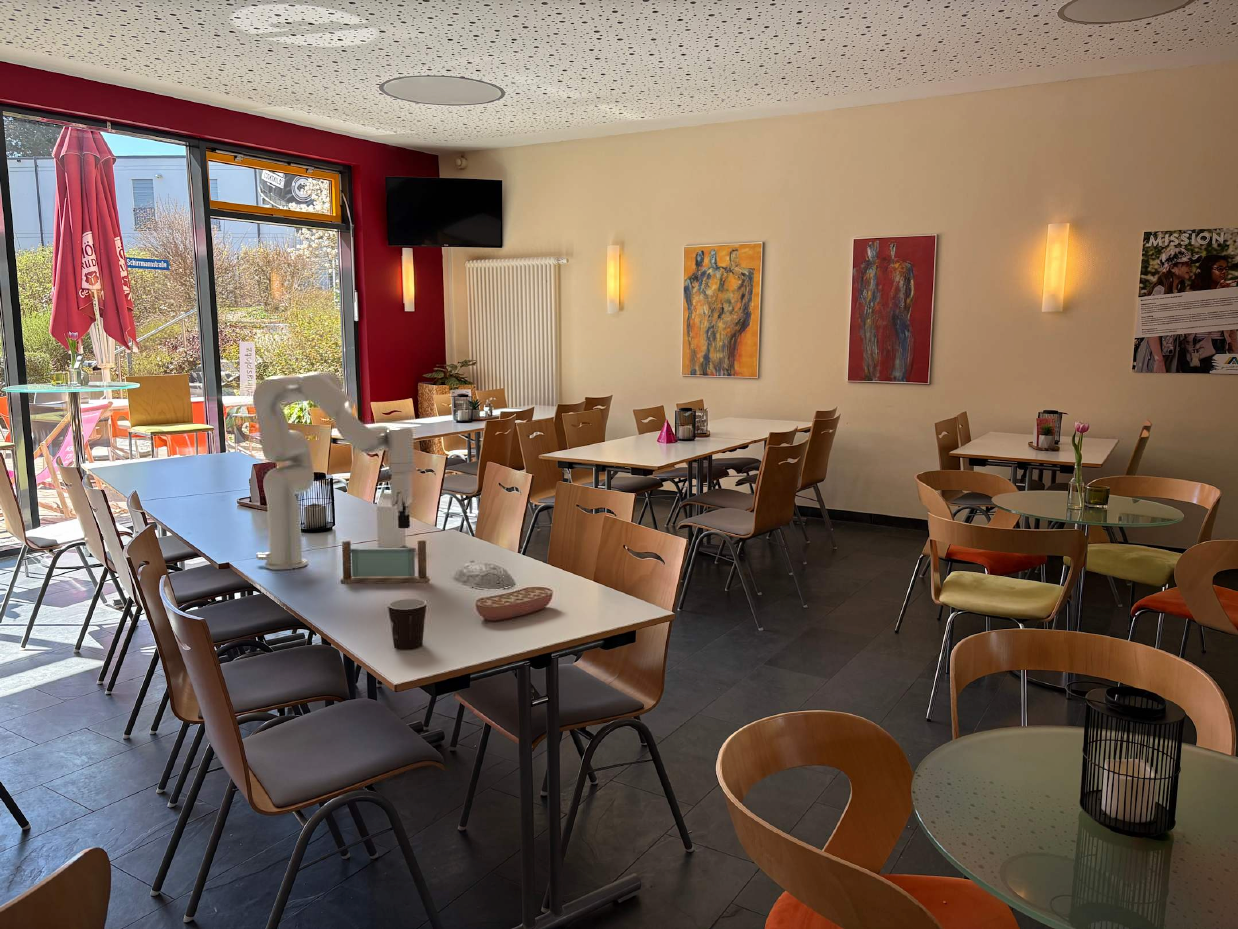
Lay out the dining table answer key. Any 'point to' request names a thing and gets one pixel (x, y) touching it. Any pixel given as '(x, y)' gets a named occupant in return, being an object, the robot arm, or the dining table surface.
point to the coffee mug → (407, 623)
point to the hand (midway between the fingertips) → (404, 527)
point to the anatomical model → (514, 603)
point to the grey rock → (483, 576)
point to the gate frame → (349, 579)
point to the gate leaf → (383, 562)
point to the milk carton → (388, 524)
